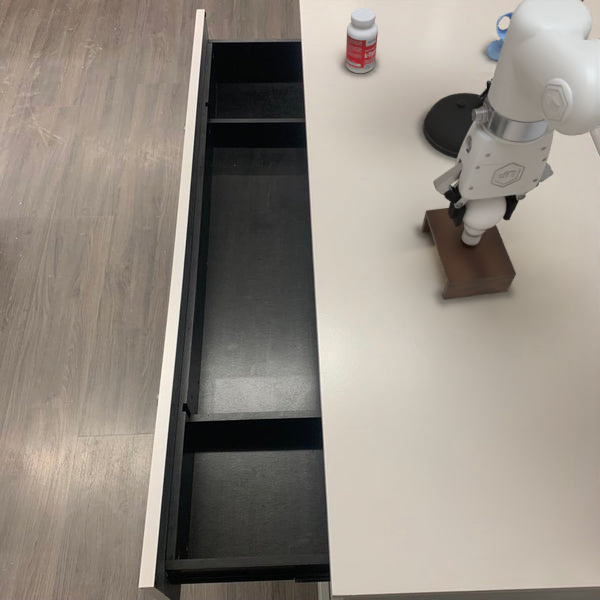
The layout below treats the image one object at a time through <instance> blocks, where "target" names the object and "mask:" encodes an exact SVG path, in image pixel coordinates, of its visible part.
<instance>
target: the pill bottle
mask: <svg viewBox="0 0 600 600" xmlns="http://www.w3.org/2000/svg"><path fill="white" fill-rule="evenodd" d="M378 33H379V27H378V25H377V23H376V12H375V11H374V10H373V9H371V8H368V7H358V8H356V9H354V10H352V11H351V15H350V23H349V24H348V25H347V27H346V45H345V67H346V68H347V70H349V71H350V72H352V73H354V74H366V73H368V72H370V71H373V69H374V67H375V65H376V56H377V46H378V45H377V44H378V36H379V35H378Z"/></svg>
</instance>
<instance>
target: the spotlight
mask: <svg viewBox="0 0 600 600" xmlns="http://www.w3.org/2000/svg"><path fill="white" fill-rule="evenodd" d="M513 12H514V11H511V12H507V13H504V14H503V15H501V16H499V17H498V19H497V20H496V27H495V28H496V29H495V30H496V34H497V37H498V38H499V39H496V40H493V41H490V42H489V44H488V47H487V50H486V55H487V57H488V58H490V59H491V60H494V61H498V59H499V56H500V53H501V49H502V46H503V43H504V39H505V36H506V33H507V29H508V27H506V28H504V29H502V28H500V27H499V24H500V22H501V21H502V19H504V17H507V18H509V21H510V20H511V17H512V14H513Z"/></svg>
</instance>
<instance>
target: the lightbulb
mask: <svg viewBox="0 0 600 600" xmlns="http://www.w3.org/2000/svg"><path fill="white" fill-rule="evenodd" d="M465 206H466V211H465V214H464V217H463V222H464V231H463V234H462V241H463V242H464V243H465V244H467V245H476V244H478V243H479V241H480V238H481V236H482V233H484V232H485V231H486V229H489V228H491V227H493V226H495V225H496V226H497V225H498V224H499V223H500V222H501V221H502V220H503V217H504V215H505V212H506V207H507V203H506V199H505V196H501V197H493V198H484V199H473V200H471V199H469V200H468V201H467V202H466V203H465Z"/></svg>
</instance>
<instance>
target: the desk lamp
mask: <svg viewBox="0 0 600 600" xmlns="http://www.w3.org/2000/svg"><path fill="white" fill-rule="evenodd" d="M581 1H582V2H583V3H584V1H585V0H581ZM492 79H493V77H492V78H491V79H490V80H487V81H486V88H485V89H484V90H483V91H482V92H481V94H478V93H471V92H459V93H453V94H448V95H447V96H444V97H442V98H441V99H439V100H438V101H436V103H434V104H433V105H432V106H431V108H430V110H429V111H428V112H427V113H426V115H425V117H424V121H423V128H422V129H423V134H424V136H425V139H426V141H427V142H428V144H429V145H430V146H432V148H434V149H435V150H437V152H439V153H441V154H443V155H445V156H448V157H451V158H454V159H457V157H458V154H459V151H460V149H461V146H462V144H463V141H464V139H465V137H466V135H467V133H468V131H469V129H470V127H471V125H472V124H473V122H474V121H473V120H472V111H473V109H479V108H480V107H482V106H483V104H484V101H485V97H487V95H488V93H489V89H490V86H491V83H492Z"/></svg>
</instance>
